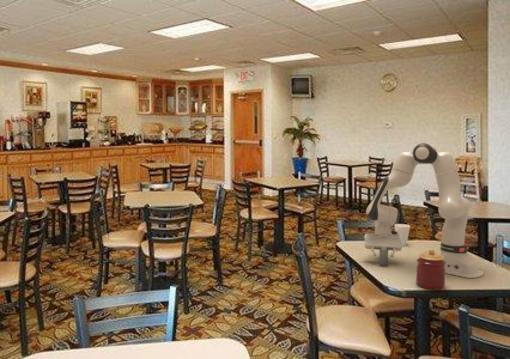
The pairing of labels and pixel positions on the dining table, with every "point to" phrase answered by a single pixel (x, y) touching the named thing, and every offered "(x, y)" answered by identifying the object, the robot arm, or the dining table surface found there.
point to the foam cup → (403, 232)
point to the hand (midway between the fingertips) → (383, 255)
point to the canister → (430, 270)
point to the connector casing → (383, 256)
